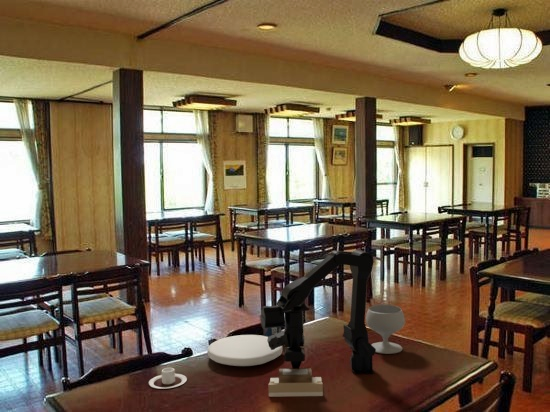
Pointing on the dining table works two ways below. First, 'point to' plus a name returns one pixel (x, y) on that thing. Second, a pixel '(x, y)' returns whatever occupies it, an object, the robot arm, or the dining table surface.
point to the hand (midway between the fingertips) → (295, 373)
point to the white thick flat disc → (243, 350)
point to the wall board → (295, 388)
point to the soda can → (271, 331)
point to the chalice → (385, 326)
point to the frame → (295, 375)
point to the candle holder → (168, 378)
